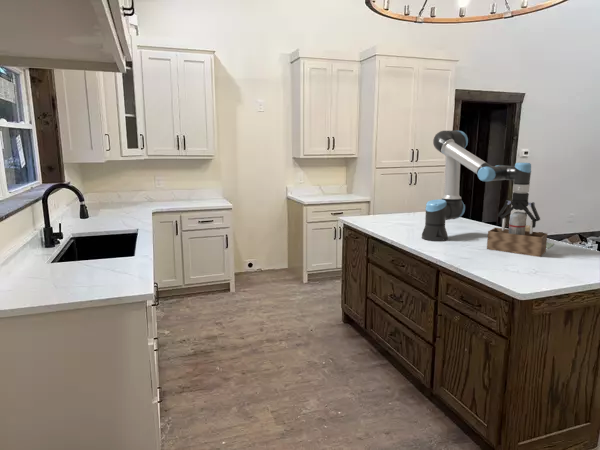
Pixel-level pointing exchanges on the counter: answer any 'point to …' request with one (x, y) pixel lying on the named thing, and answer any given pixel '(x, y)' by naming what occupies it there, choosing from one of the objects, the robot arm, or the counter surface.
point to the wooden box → (517, 242)
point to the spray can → (517, 223)
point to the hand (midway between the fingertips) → (516, 231)
